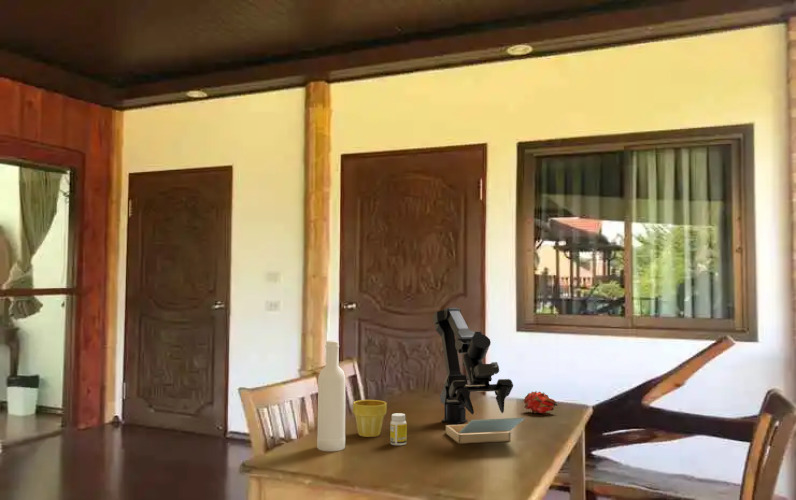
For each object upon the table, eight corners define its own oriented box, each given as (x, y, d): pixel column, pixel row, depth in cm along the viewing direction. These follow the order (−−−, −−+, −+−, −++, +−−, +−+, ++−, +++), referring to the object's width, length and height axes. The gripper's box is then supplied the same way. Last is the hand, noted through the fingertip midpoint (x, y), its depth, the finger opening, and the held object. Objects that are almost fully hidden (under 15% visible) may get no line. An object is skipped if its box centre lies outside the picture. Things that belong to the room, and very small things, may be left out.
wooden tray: (445, 433, 203) (445, 425, 203) (494, 431, 207) (494, 423, 207) (458, 443, 191) (458, 435, 191) (510, 441, 194) (510, 432, 194)
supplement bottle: (408, 442, 192) (408, 413, 192) (403, 446, 187) (403, 416, 188) (393, 441, 193) (393, 412, 194) (387, 444, 189) (388, 415, 189)
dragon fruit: (521, 415, 239) (554, 423, 234) (519, 405, 232) (554, 413, 228) (526, 395, 243) (559, 402, 239) (525, 384, 237) (558, 391, 232)
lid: (471, 419, 181) (472, 421, 181) (524, 417, 184) (524, 419, 184) (459, 431, 191) (459, 433, 191) (509, 429, 195) (509, 431, 194)
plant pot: (392, 432, 204) (392, 401, 204) (377, 440, 194) (377, 406, 195) (362, 429, 208) (362, 398, 209) (346, 436, 199) (346, 403, 199)
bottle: (313, 446, 187) (315, 340, 188) (340, 443, 190) (341, 339, 191) (321, 452, 180) (323, 342, 181) (349, 450, 183) (350, 341, 184)
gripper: (452, 353, 194) (463, 398, 183) (511, 352, 198) (526, 395, 187) (444, 375, 201) (454, 420, 190) (501, 374, 206) (514, 417, 195)
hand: (487, 412), depth 190 cm, fingers open, 9 cm apart
